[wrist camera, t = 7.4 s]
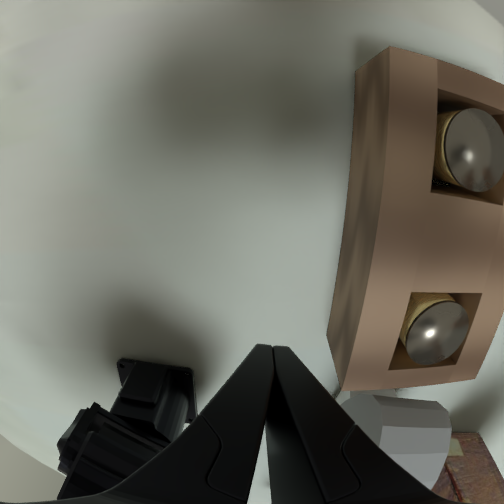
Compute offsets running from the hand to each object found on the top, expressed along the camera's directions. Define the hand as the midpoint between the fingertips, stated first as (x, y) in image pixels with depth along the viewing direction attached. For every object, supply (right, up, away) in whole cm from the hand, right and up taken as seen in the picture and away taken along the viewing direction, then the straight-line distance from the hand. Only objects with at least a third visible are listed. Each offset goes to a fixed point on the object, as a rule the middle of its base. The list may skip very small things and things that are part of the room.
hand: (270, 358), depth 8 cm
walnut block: (+10, +5, +11) cm, 16 cm away
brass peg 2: (+10, 0, +13) cm, 16 cm away
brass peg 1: (+11, +10, +9) cm, 17 cm away
